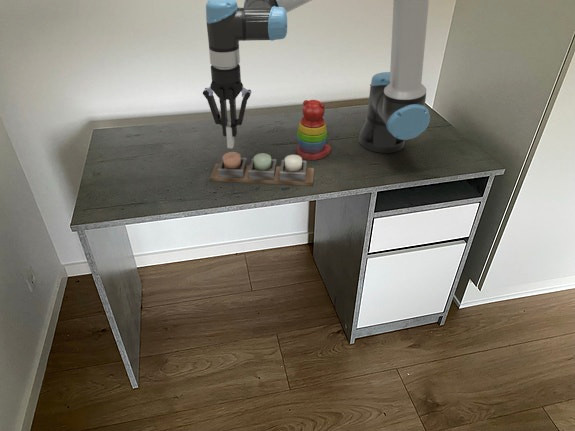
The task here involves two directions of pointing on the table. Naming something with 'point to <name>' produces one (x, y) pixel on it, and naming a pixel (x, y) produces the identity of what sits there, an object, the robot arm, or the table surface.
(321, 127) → the stacking bear
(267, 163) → the sage button
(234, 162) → the terracotta button
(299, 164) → the ivory button
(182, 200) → the table surface
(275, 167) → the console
